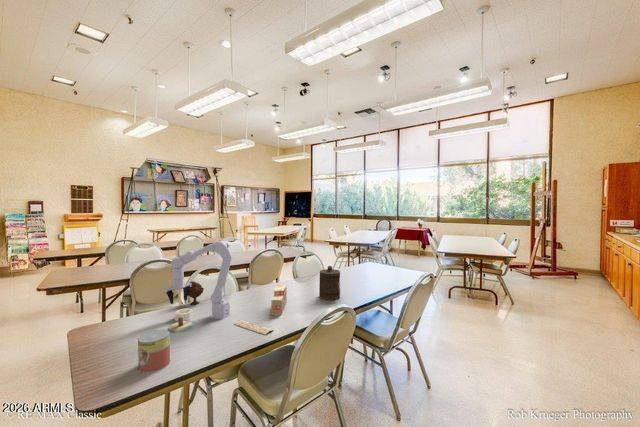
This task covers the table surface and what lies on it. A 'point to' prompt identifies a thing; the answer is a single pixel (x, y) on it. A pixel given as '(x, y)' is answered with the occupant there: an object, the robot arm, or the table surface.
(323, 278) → the wooden container
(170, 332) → the mat
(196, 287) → the ice cream bowl
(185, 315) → the bowl
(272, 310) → the stack of blocks
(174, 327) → the cover
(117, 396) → the table surface
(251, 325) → the tan wooden plank
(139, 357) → the canned food
